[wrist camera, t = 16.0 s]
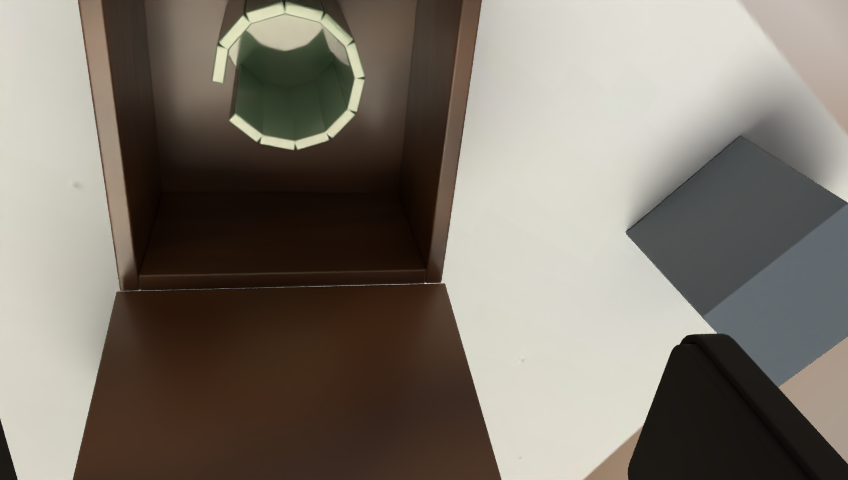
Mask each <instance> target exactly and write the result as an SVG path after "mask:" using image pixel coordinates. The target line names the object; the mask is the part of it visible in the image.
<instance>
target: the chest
mask: <svg viewBox="0 0 848 480" xmlns="http://www.w3.org/2000/svg"><path fill="white" fill-rule="evenodd" d="M337 3H339V6H340V8H341V10H342V12H343V15H344V17H345V19H346V22H347V24H348V26H349V28H350V31H351V33H352V35H353V38H354V40H355V42H356V45H357V49H358V52H359V55H360V59H361V62H362V66H363V69H364V73H365V76H364V78H365V83H364V87H363V91H362V95H361V99H360V103H359V107H358V111H357V112H355V116H354V117H353V118H352V119H351V120H350V121H349V122H348V123H347V124H346V125H345V126H344V127H343V128H342V129H341V130H340V132H339V133H338V134H337V135H336V136H335V137H334V138H331V137H329V139H330V140H329V141H326V142H323V143H319V144H316V145H313V146H310V147H306V148H303V149H300V150H297V149H296V146H295V149H294V150H289V149H284V148H279V147H273V146H268V145H263V144H260V143H259V142H260V140H259V141H258V142H255V141H254V140H253V139H251V138H250V137H249V136H247V135H246V134H245V133H244V132H242V131H241V130H240V129H239V128H237V127H236V126H235V125H233V124H232V123H231V122H230V121H229V114H230V106H231V99H232V91H233V84H234V76H235V69H236V67H235V66H234V64H233V63H232V61H231V59H230V57H228V63H227V68H226V74H225V80H224V83H223V84H221V83H217V82H213V81H212V74H213V67H214V60H215V53H216V46H217V42H218V38H219V33H220V29H221V25H222V21H223V17H224V13H225V9H226V5H227V4H228V0H78V4H79V11H80V18H81V25H82V32H83V39H84V45H85V52H86V59H87V66H88V73H89V80H90V87H91V93H92V100H93V107H94V114H95V121H96V128H97V135H98V141H99V148H100V155H101V162H102V169H103V176H104V183H105V190H106V196H107V203H108V210H109V217H110V224H111V231H112V238H113V244H114V251H115V258H116V265H117V272H118V279H119V286H120V290H121V291H135V290H179V289H219V288H260V287H300V286H341V285H381V284H422V283H425V282H426V283H441V281H442V274H443V267H444V260H445V253H446V246H447V239H448V232H449V225H450V218H451V211H452V204H453V197H454V190H455V183H456V176H457V169H458V163H459V156H460V149H461V142H462V135H463V128H464V121H465V114H466V107H467V100H468V93H469V86H470V79H471V72H472V65H473V58H474V51H475V44H476V37H477V31H478V24H479V17H480V10H481V3H482V0H337Z"/></svg>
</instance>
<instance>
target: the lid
mask: <svg viewBox="0 0 848 480" xmlns="http://www.w3.org/2000/svg"><path fill="white" fill-rule="evenodd" d="M73 480H501V476H500V473H499V469H498V466H497V463H496V459H495V456H494V452H493V449H492V445H491V442H490V438H489V435H488V431H487V428H486V424H485V421H484V417H483V414H482V410H481V407H480V404H479V400H478V397H477V393H476V390H475V386H474V383H473V379H472V376H471V372H470V369H469V365H468V362H467V358H466V355H465V352H464V348H463V345H462V341H461V338H460V334H459V331H458V327H457V324H456V320H455V317H454V313H453V310H452V306H451V303H450V299H449V296H448V293H447V289H446V286H445V284H405V285H365V286H325V287H285V288H244V289H204V290H164V291H124V292H117V293H116V297H115V301H114V305H113V310H112V314H111V318H110V322H109V327H108V331H107V335H106V340H105V344H104V348H103V352H102V357H101V361H100V365H99V370H98V374H97V378H96V382H95V387H94V391H93V395H92V400H91V404H90V408H89V412H88V417H87V421H86V425H85V430H84V434H83V438H82V442H81V447H80V451H79V455H78V460H77V464H76V468H75V472H74V477H73Z"/></svg>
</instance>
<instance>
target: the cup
mask: <svg viewBox="0 0 848 480" xmlns="http://www.w3.org/2000/svg"><path fill="white" fill-rule="evenodd" d="M228 57H230V59H231V61H232V63H233V64H234V66H235V67H236V69H235V76H234V84H233V91H232V99H231V106H230V114H229V121H230V122H231V123H232V124H233V125H235V126H236V127H237V128H239V129H240V130H241V131H242V132H244V133H245V134H246V135H247V136H249V137H250V138H251V139H253V140H254V141H255V142H258V141H259V140H260V142H259V143H260V144H263V145H268V146H273V147H279V148H284V149H289V150H294V149H295V146H296V149H297V150H300V149H303V148H306V147H310V146H313V145H316V144H319V143H323V142H326V141H329V140H330V139H329V137H331V138H334V137H335V136H336V135H337V134H338V133H339V132H340V130H341V129H342V128H343V127H344V126H345V125H346V124H347V123H348V122H349V121H350V120H351V119H352V118H353V117H354V116H355V112H357V111H358V107H359V103H360V99H361V95H362V91H363V87H364V83H365V78H364V76H365V73H364V69H363V66H362V62H361V59H360V55H359V52H358V49H357V45H356V42H355V40H354V38H353V35H352V33H351V31H350V28H349V26H348V24H347V22H346V19H345V17H344V15H343V12H342V10H341V8H340V6H339V3H337V0H228V4H227V5H226V9H225V13H224V17H223V21H222V25H221V29H220V33H219V38H218V42H217V46H216V53H215V60H214V67H213V74H212V81H213V82H217V83H221V84H223V83H224V80H225V74H226V68H227V63H228Z"/></svg>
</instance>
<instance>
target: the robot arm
mask: <svg viewBox="0 0 848 480" xmlns="http://www.w3.org/2000/svg"><path fill="white" fill-rule="evenodd" d="M628 479H629V480H848V464H847V463H846V462H845V461H844V459H842V457H841V456H840V455H839V454H838V453H837V452H836V451H835V450H834V448H833V447H832V446H831V445H830V444H829V443H828V442H827V441H826V440H825V439H824V437H823V436H822V435H821V434H820V433H819V432H818V431H817V430H816V429H815V428H814V426H813V425H811V423H810V422H809V421H808V420H807V419H806V418H805V417H804V416H803V414H802V413H801V412H800V411H799V410H798V409H797V408H796V407H795V406H794V405H793V404H792V402H791V401H790V400H789V399H788V398H787V397H786V396H785V395H784V394H783V393H782V391H780V389H779V388H778V387H777V386H776V385H775V384H774V383H773V382H772V380H771V379H770V378H769V377H768V376H767V375H766V374H765V373H764V372H763V371H762V370H761V368H760V367H759V366H758V365H757V364H756V363H755V362H754V361H753V360H752V359H751V357H750V356H749V355H748V354H747V353H746V352H745V351H744V350H743V349H742V348H741V347H740V345H739V344H738V343H737V342H736V341H735V340H734V339H733V338H732V337H730V336H729V335H727V334H723V333H721V334H693V335H687V336H686V337H685V338H684V339H683V340H682V341H681V343H680V345H676V346H675V347H674V348H673V350H672V352H671V354H670V357H669V359H668V362H667V365H666V367H665V370H664V373H663V375H662V378H661V381H660V383H659V386H658V389H657V391H656V394H655V397H654V399H653V402H652V405H651V407H650V410H649V413H648V415H647V418H646V421H645V423H644V426H643V429H642V431H641V434H640V437H639V440H638V442H637V445H636V447H635V450H634V452H633V456H632V458H631V460H630V463H629V467H628ZM0 480H18V479H17V476H16V472H15V469H14V466H13V462H12V459H11V455H10V452H9V448H8V445H7V441H6V438H5V434H4V431H3V427H2V424H1V420H0Z"/></svg>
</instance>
